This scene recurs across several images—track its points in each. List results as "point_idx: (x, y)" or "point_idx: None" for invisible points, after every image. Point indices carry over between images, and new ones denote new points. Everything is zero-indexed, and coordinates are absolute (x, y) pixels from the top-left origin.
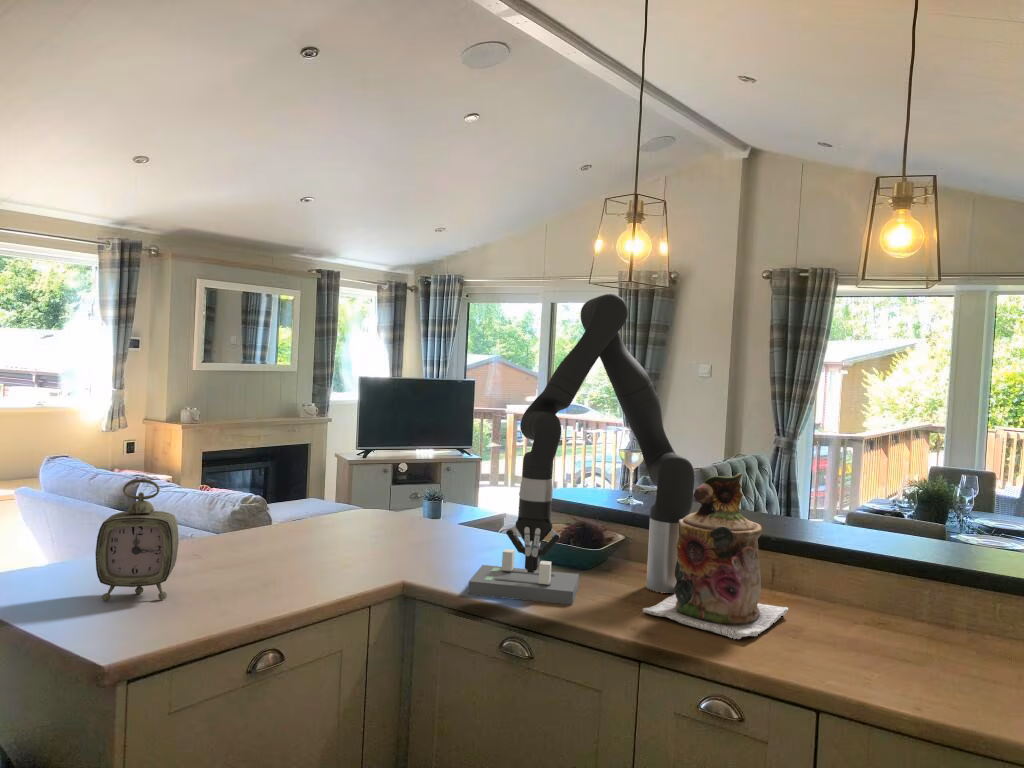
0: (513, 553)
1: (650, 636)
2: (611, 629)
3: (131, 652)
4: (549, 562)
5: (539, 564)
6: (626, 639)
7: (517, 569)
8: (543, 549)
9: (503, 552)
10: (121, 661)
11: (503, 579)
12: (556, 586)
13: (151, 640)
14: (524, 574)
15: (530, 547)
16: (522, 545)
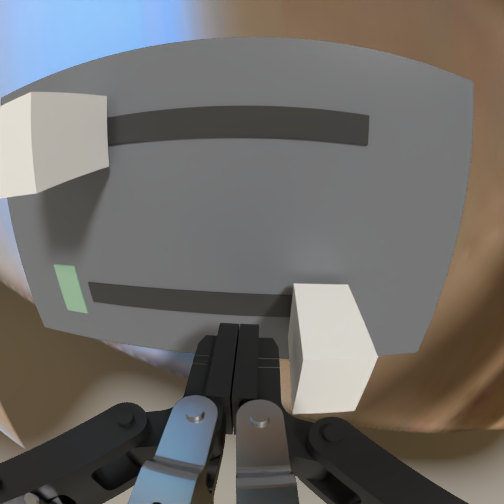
0: (44, 132)
1: (474, 408)
2: (432, 413)
3: (15, 438)
4: (360, 376)
5: (292, 410)
6: (434, 431)
7: (130, 73)
8: (319, 487)
9: (1, 196)
10: (24, 447)
11: (118, 291)
12: (368, 319)
13: (3, 426)
14: (184, 158)
15: (214, 486)
16: (127, 447)
